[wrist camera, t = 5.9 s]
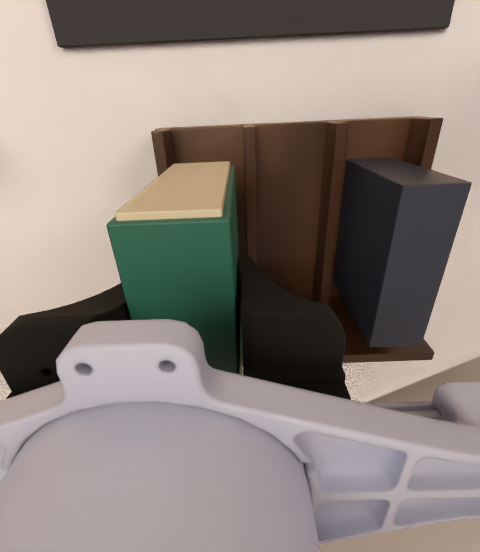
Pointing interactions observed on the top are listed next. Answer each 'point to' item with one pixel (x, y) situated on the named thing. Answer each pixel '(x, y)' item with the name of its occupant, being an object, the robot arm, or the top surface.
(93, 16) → the felt mat
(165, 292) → the green book
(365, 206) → the navy book
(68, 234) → the top surface
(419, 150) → the book rack
